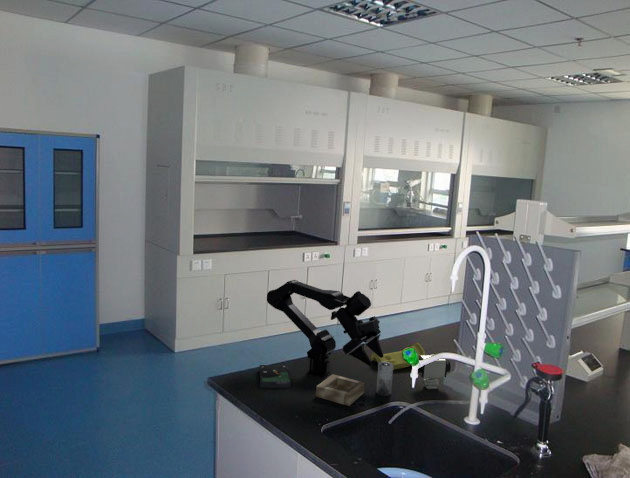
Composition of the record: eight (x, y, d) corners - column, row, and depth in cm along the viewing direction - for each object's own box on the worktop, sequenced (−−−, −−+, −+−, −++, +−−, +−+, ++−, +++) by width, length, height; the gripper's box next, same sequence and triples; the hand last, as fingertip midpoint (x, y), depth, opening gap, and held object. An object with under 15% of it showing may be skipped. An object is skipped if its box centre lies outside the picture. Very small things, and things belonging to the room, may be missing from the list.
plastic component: (384, 366, 190) (373, 347, 197) (380, 380, 194) (369, 360, 201) (429, 358, 197) (416, 339, 205) (424, 371, 201) (411, 352, 209)
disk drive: (258, 372, 185) (260, 389, 171) (259, 364, 185) (260, 381, 171) (287, 372, 187) (291, 388, 172) (287, 364, 187) (291, 381, 172)
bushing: (374, 393, 172) (376, 364, 170) (379, 388, 176) (381, 360, 175) (388, 397, 169) (390, 368, 168) (393, 391, 174) (395, 363, 172)
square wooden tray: (315, 396, 167) (316, 385, 166) (332, 383, 177) (332, 373, 177) (349, 406, 161) (350, 395, 161) (364, 392, 172) (364, 382, 171)
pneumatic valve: (448, 390, 178) (452, 357, 176) (416, 390, 176) (419, 357, 174) (442, 383, 183) (445, 351, 182) (411, 383, 181) (414, 351, 180)
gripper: (353, 316, 166) (381, 356, 162) (377, 304, 182) (404, 341, 177) (330, 334, 171) (358, 374, 167) (356, 321, 187) (382, 358, 183)
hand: (376, 361), depth 173 cm, fingers open, 9 cm apart
